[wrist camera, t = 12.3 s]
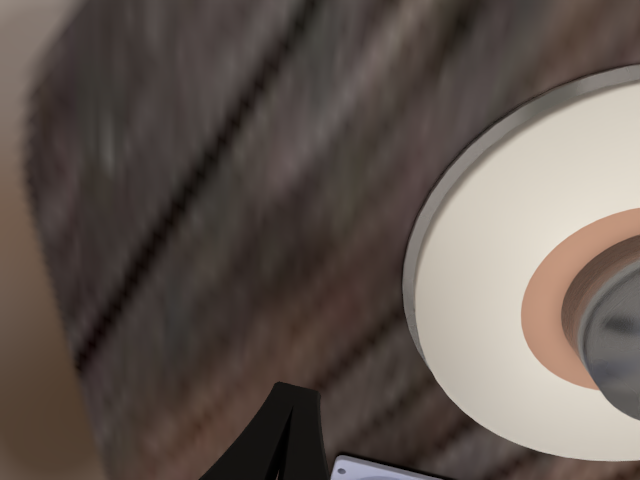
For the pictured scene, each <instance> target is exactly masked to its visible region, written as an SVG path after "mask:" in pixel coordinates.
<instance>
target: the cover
mask: <svg viewBox="0 0 640 480" xmlns="http://www.w3.org/2000/svg"><path fill="white" fill-rule="evenodd" d="M561 323H562V328H563V332H564V335H565V337H566V339H567V341H568V343H569V344H570V346H571V347H572V349H573V350H574V352H575V353H576V355H577V356H578V358H579V359H580V361H581V363H582V364H583V366H584V367H585V369H586V370H587V372H588V373H589V375H590V376H591V378H592V379H593V381H594V382H595V384H596V385H597V387H598V388H599V390H600V391H601V393H602V394H603V395H604V397H605V398H606V399H607V400H608V401H609V402H610V403H611V404H612V405H613V406H614V407H615V408H617V409H618V410H619V411H621V412H622V413H624V414H626V415H628V416H630V417H632V418H634V419H637V420H639V421H640V235H637V236H633V237H630V238H628V239H625V240H623V241H621V242H618V243H616V244H615V245H613V246H611V247H609V248H607V249H606V250H604V251H603V252H601V253H600V254H598V255H597V256H595V257H594V258H593V259H592V260H591V261H590V262H588V263H587V264H586V265H585V266H584V267H583V268H582V269H581V270H580V272H579V273H578V274H577V275H576V277H575V278H574V279H573V281H572V282H571V284H570V286H569V288H568V290H567V292H566V294H565V297H564V300H563V304H562V309H561Z"/></svg>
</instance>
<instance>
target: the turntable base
mask: <svg viewBox="0 0 640 480" xmlns="http://www.w3.org/2000/svg"><path fill="white" fill-rule="evenodd" d="M636 79H640V64H635V65H628V66H621V67H617V68H613V69H609V70H605V71H602V72H598V73H594V74H590V75H586V76H583V77H581V78H578V79H576V80H573V81H570V82H568V83H565V84H563V85H560V86H558V87H555V88H553V89H550V90H548V91H546V92H544V93H543V94H541V95H539V96H537V97H535V98H533V99H531V100H529V101H527V102H526V103H524V104H522V105H520V106H518V107H517V108H515V109H514V110H512V111H511V112H509V113H508V114H507V115H505V116H504V117H502V118H501V119H499V120H498V121H496V122H495V123H493V124H492V125H491V126H489V127H488V128H487V129H486V130H485V131H484V132H482V133H481V134H480V135H479V136H478V137H477V138H476V139H474V140H473V141H472V142H471V143H470V144H469V145H467V146H466V148H465V149H464V150H463V151H462V152H461V153H460V154H459V155H458V156H457V157H456V158H455V160H454V161H453V162H452V163H451V164H450V165H449V166H448V167H447V168H446V170H445V171H444V173H443V174H442V175H441V177H440V178H439V180H438V181H437V182H436V184H435V185H434V187H433V188H432V189H431V191H430V192H429V194H428V196H427V198H426V200H425V202H424V204H423V205H422V207H421V209H420V211H419V213H418V215H417V217H416V220H415V223H414V225H413V228H412V231H411V233H410V236H409V239H408V244H407V248H406V253H405V257H404V264H403V278H402V288H403V300H404V311H405V315H406V319H407V323H408V327H409V331H410V333H411V336H412V338H413V341H414V343H415V345H416V348H417V350H418V352H419V353H420V355H421V357H422V358H423V360H424V362H425V363H426V365H427V366H428V368H429V369H430V367H429V365H428V364H427V361H426V359H425V356H424V353H423V350H422V347H421V344H420V340H419V334H418V329H417V323H416V316H415V309H414V290H413V281H414V274H415V266H416V260H417V256H418V253H419V249H420V246H421V242H422V239H423V236H424V234H425V232H426V229H427V227H428V225H429V223H430V220H431V218H432V216H433V214H434V212H435V211H436V209H437V208H438V206H439V204H440V203H441V201H442V199H443V198H444V196H445V195H446V193H447V192H448V190H449V189H450V188H451V187H452V185H453V184H454V183H455V182H456V180H457V179H458V178H459V177H460V175H461V174H462V173H463V172H464V170H465V169H466V168H468V167H469V166H470V165H471V164H472V163H473V162H474V161H475V160H476V159H477V158H478V157H479V156H480V155H481V154H482V153H483V152H484V151H485V150H486V149H487V148H488V147H490V146H491V145H492V144H494V143H495V142H496V141H497V140H499V139H500V138H501V137H503V136H504V135H505V134H506V133H508V132H509V131H510V130H512V129H513V128H515V127H517V126H518V125H520V124H522V123H523V122H525V121H526V120H528V119H530V118H531V117H533V116H535V115H536V114H538V113H540V112H542V111H544V110H546V109H548V108H550V107H552V106H554V105H557V104H559V103H561V102H563V101H565V100H567V99H569V98H572V97H575V96H578V95H581V94H584V93H587V92H590V91H592V90H595V89H598V88H601V87H604V86H609V85H614V84H618V83H623V82H627V81H632V80H636ZM430 370H431V369H430Z"/></svg>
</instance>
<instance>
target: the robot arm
mask: <svg viewBox="0 0 640 480" xmlns="http://www.w3.org/2000/svg"><path fill="white" fill-rule="evenodd" d="M320 398H321V395H320V393H319V392H318V391H315V390H311V389H307V388H303V387H299V386H295V385H291V384H287V383H283V382H277V383H275V384H274V386H273V388H272V390H271V392H270V394H269V396H268V397H267V399H266V400H265V402H264V404H263V405H262V406H261V408H260V409H259V411H258V412H257V414H256V415H255V416H254V418H253V419H252V420H251V422H250V423H249V424H248V425H247V427H246V428H245V429H244V431H243V432H242V433H241V434H240V436H239V437H238V438H237V439H236V440H235V441H234V443H233V444H232V445H231V446H230V447H229V448H228V449H227V451H226V452H225V453H224V454H223V455H222V456H221V457H220V458H219V459H218V461H217V462H216V463H215V464H214V465H213V466H212V467H211V468H210V469H209V470H208V471H207V472H206V473H205V474H204V475H203V476H202V477H201V478H200V479H199V480H276V477H277V474H278V471H279V475H278V480H443V479H439V478H435V477H430V476H426V475H422V474H418V473H414V472H410V471H406V470H402V469H398V468H394V467H390V466H386V465H382V464H378V463H374V462H370V461H366V460H362V459H357V458H353V457H349V456H345V455H340V456H338V457H337V458H336V460H335V464H334V467H333V471H332V474H331V478H330V475H329V471H328V466H327V461H326V455H325V449H324V443H323V436H322V427H321V416H320ZM342 468H343V469H342Z"/></svg>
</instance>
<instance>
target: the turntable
mask: <svg viewBox="0 0 640 480" xmlns="http://www.w3.org/2000/svg"><path fill="white" fill-rule="evenodd" d="M637 235H640V79H636V80H632V81H627V82H623V83H618V84H614V85H609V86H604V87H601V88H598V89H595V90H592V91H590V92H587V93H584V94H581V95H578V96H575V97H572V98H569V99H567V100H565V101H563V102H561V103H559V104H557V105H554V106H552V107H550V108H548V109H546V110H544V111H542V112H540V113H538V114H536V115H535V116H533V117H531V118H530V119H528V120H526V121H525V122H523V123H522V124H520V125H518V126H517V127H515V128H513V129H512V130H510V131H509V132H508V133H506V134H505V135H504V136H503V137H501V138H500V139H499V140H497V141H496V142H495V143H494V144H492V145H491V146H490V147H488V148H487V149H486V150H485V151H484V152H483V153H482V154H481V155H480V156H479V157H478V158H477V159H476V160H475V161H474V162H473V163H472V164H471V165H470V166H469V167H468V168H466V169H465V170H464V172H463V173H462V174H461V175H460V177H459V178H458V179H457V180H456V182H455V183H454V184H453V185H452V187H451V188H450V189H449V190H448V192H447V193H446V195H445V196H444V198H443V199H442V201H441V203H440V204H439V206H438V208H437V209H436V211H435V212H434V214H433V216H432V218H431V220H430V223H429V225H428V227H427V229H426V232H425V234H424V236H423V239H422V242H421V246H420V249H419V253H418V256H417V260H416V266H415V274H414V281H413V290H414V309H415V316H416V323H417V329H418V334H419V340H420V344H421V347H422V350H423V353H424V356H425V359H426V361H427V364H428V365H429V367H430V369H431V371H432V373H433V375H434V377H435V379H436V380H437V382H438V383H439V384H440V386H441V387H442V388H443V390H444V391H445V392H446V394H447V395H448V396H449V398H450V399H451V400H452V401H453V402H454V403H455V404H456V405H457V406H458V407H459V408H460V409H461V410H462V411H463V412H465V413H466V414H467V415H469V416H470V417H471V418H472V419H474V420H475V421H476V422H478V423H479V424H480V425H482V426H484V427H485V428H487V429H489V430H490V431H492V432H494V433H495V434H497V435H499V436H501V437H503V438H506V439H508V440H510V441H512V442H514V443H517V444H519V445H522V446H525V447H528V448H531V449H534V450H537V451H540V452H544V453H549V454H553V455H558V456H562V457H568V458H576V459H584V460H597V461H631V460H640V421H639V420H637V419H634V418H632V417H630V416H628V415H626V414H624V413H622V412H621V411H619V410H618V409H617V408H615V407H614V406H613V405H612V404H611V403H610V402H609V401H608V400H607V399H606V398H605V397H604V395H603V394H602V393H601V391H600V390H599V388H598V387H597V385H596V384H595V382H594V381H593V379H592V378H591V376H590V375H589V373H588V372H587V370H586V369H585V367H584V366H583V364H582V363H581V361H580V359H579V358H578V356H577V355H576V353H575V352H574V350H573V349H572V347H571V346H570V344H569V343H568V341H567V339H566V337H565V335H564V332H563V328H562V323H561V309H562V304H563V300H564V297H565V294H566V292H567V290H568V288H569V286H570V284H571V282H572V281H573V279H574V278H575V277H576V275H577V274H578V273H579V272H580V270H581V269H582V268H583V267H584V266H585V265H586V264H587V263H588V262H590V261H591V260H592V259H593V258H594V257H595V256H597V255H598V254H600V253H601V252H603V251H604V250H606V249H607V248H609V247H611V246H613V245H615V244H616V243H618V242H621V241H623V240H625V239H628V238H630V237H633V236H637Z"/></svg>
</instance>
